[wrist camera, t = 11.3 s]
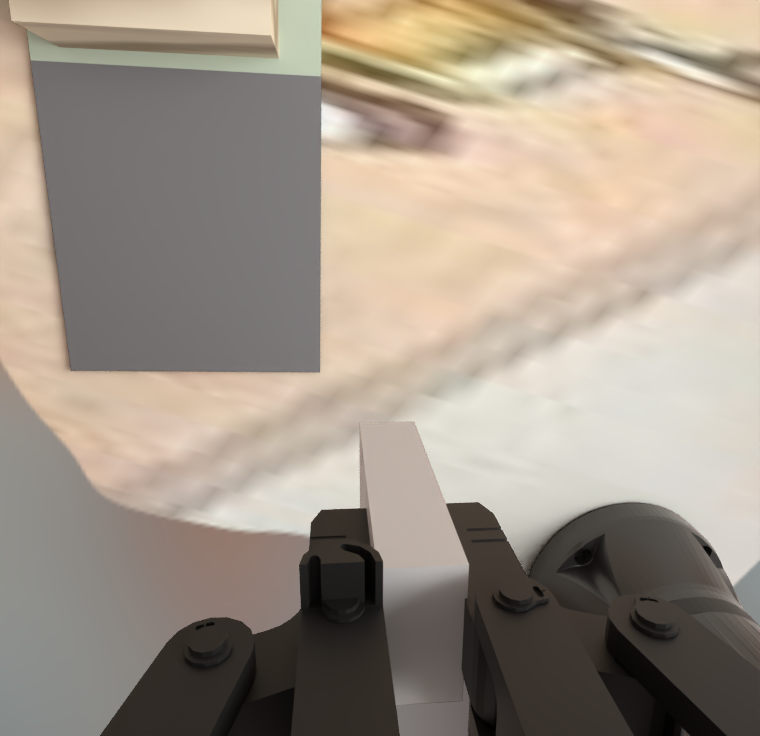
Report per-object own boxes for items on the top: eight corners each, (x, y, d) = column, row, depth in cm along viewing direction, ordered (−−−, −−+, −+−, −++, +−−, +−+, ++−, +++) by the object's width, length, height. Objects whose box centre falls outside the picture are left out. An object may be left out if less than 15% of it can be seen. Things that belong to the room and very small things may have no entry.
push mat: (319, 370, 38) (319, 384, 36) (73, 368, 37) (52, 383, 34) (322, -299, 28) (322, -354, 25) (-18, -339, 27) (-59, -403, 24)
